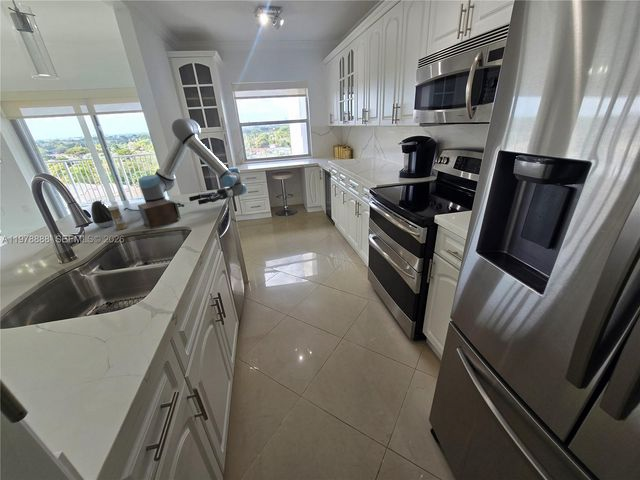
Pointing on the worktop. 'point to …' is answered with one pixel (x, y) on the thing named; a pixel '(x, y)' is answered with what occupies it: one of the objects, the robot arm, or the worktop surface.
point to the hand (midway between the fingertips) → (193, 200)
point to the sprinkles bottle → (117, 217)
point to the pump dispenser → (101, 214)
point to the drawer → (177, 208)
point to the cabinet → (158, 213)
